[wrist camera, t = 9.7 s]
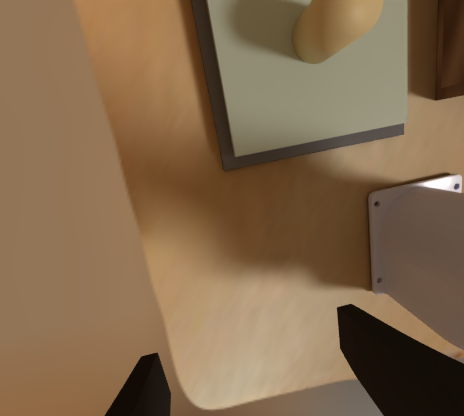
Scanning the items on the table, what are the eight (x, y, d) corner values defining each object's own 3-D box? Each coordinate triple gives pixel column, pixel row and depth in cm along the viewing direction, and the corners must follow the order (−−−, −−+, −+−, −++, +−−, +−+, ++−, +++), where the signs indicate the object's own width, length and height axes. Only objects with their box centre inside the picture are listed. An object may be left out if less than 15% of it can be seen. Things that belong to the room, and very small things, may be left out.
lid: (394, 123, 19) (466, 115, 14) (233, 156, 18) (246, 160, 13) (391, -84, 15) (484, -195, 10) (194, -58, 14) (191, -165, 9)
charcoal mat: (399, 134, 19) (404, 134, 19) (223, 170, 18) (224, 170, 18) (398, -93, 16) (403, -100, 15) (178, -65, 15) (177, -71, 14)
